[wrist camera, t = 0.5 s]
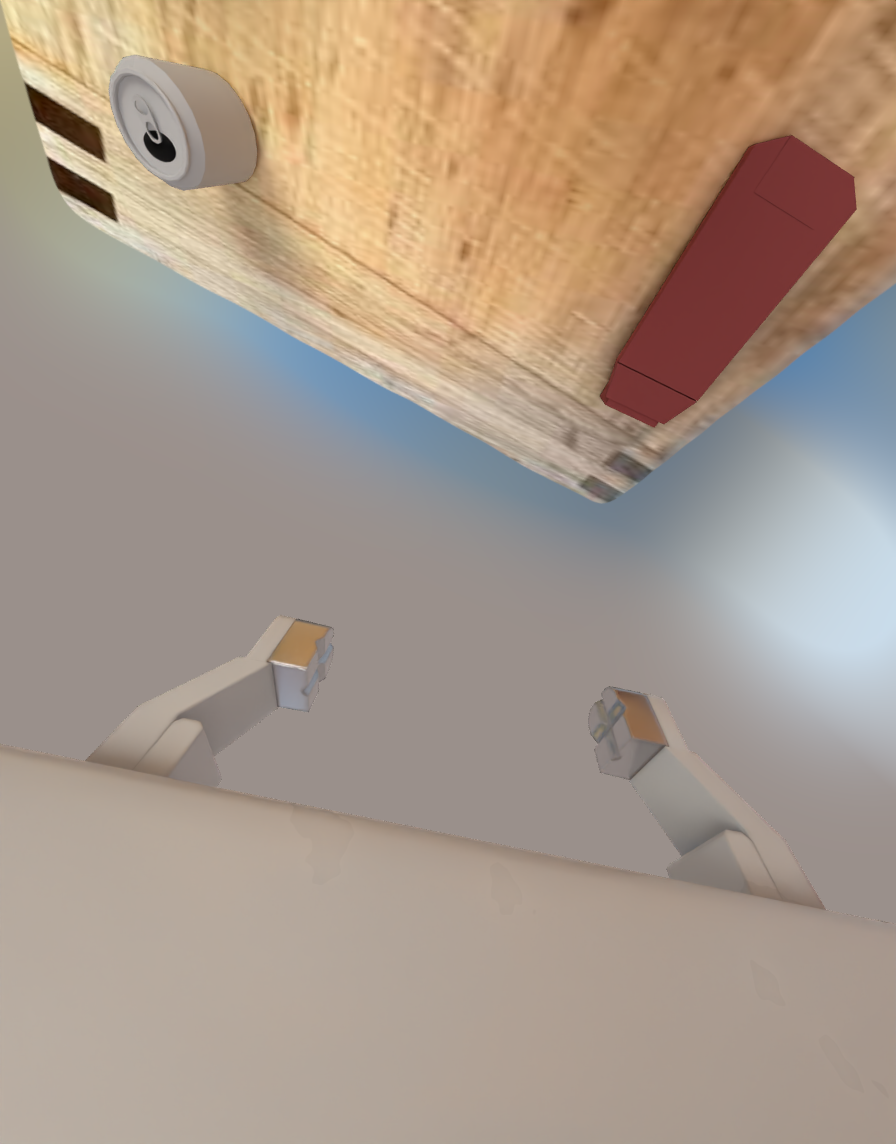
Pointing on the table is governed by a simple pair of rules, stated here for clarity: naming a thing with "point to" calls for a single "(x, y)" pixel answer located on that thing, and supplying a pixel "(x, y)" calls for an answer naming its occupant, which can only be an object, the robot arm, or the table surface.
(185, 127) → the can
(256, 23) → the table surface
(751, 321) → the dark red sloped ramp
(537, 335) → the table surface
